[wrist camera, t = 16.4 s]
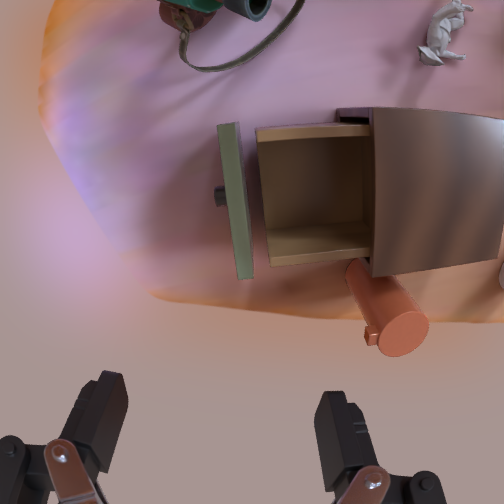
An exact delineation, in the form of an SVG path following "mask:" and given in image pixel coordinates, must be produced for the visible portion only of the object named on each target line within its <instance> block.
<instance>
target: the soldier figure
mask: <svg viewBox="0 0 504 504" xmlns="http://www.w3.org/2000/svg"><path fill="white" fill-rule="evenodd" d="M465 10H467V11H473V10H474V9H473V8H472V7H471V6H470V5H464V4H462V3H461V0H452V2H451V3H449V4H447V5H445V6H444V7H442V8H441V9H439V10H438V11H437V12H436V13H435V14H433V16H432V21H431V23H430V25H429V28H428V32H427V38H428V39H427V40H426V42H427V45H428V47H420V46H418V45H417V49H418V51H419V56H420V60H419V61H421V62H422V63H423V64H424V65H432V66H440V65H444V63H443V62H442V61H441V60H440V59H439V58H438V57H445V58H451V59H458V60H464V59H465V58H466V56H465V54H464V55H455V54H454V53H451V52H448V51H446V50H445V49H446V47H447V44H448V43H450V40H451V38H450V32H451V30H457V29H460V28H462V27H463V25H464V16H463V11H465ZM455 14H456V16H455ZM454 16H455V17H454ZM452 17H454V18H452ZM427 45H426V46H427ZM463 56H464V57H463Z"/></svg>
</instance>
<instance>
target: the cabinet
mask: <svg viewBox="0 0 504 504" xmlns="http://www.w3.org/2000/svg"><path fill="white" fill-rule="evenodd" d="M337 120H338V122H369V123H370V141H371V171H372V215H371V246H370V256H369V257H360V258H359V260H360V261H361V263H362V264H363V265H364V267H365V268H366V270H367V271H368V273H369V274H370V276H371V277H372V278H375V277H382V276H390V275H397V274H404V273H411V272H417V271H424V270H431V269H437V268H444V267H450V266H456V265H462V264H468V263H474V262H480V261H486V260H492V259H497V258H498V253H499V248H500V242H501V237H502V231H503V225H504V120H503V119H497V118H491V117H485V116H479V115H472V114H465V113H457V112H448V111H438V110H427V109H414V108H396V107H354V108H337Z"/></svg>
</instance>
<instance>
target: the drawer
mask: <svg viewBox="0 0 504 504" xmlns="http://www.w3.org/2000/svg"><path fill="white" fill-rule="evenodd" d="M217 131H218V139H219V147H220V154H221V162H222V170H223V177H224V185H225V186H217V187H215V188H214V197H215V203H216V205H217V206H226V205H227V206H228V214H229V221H230V228H231V235H232V242H233V249H234V256H235V263H236V270H237V276H238V280H243V279H253V278H254V267H253V238H252V230H251V221H250V213H249V204H248V196H247V187H246V179H245V170H244V162H243V153H242V145H241V136H240V128H239V122H232V123H225V124H220V125H217ZM255 136H256V145H257V154H258V163H259V173H260V182H261V191H262V201H263V211H264V221H265V231H266V239H267V247H268V255H269V262H270V267H277V266H287V265H296V264H306V263H315V262H324V261H333V260H342V259H351V258H360V257H369V256H370V246H371V215H372V171H371V141H370V123H369V122H337V123H311V124H295V125H281V126H269V127H258V128H255Z"/></svg>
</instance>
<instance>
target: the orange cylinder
mask: <svg viewBox="0 0 504 504" xmlns="http://www.w3.org/2000/svg"><path fill="white" fill-rule="evenodd" d="M345 280H346V283H347V285H348V287H349V289H350V291H351V293H352V295H353V297H354V299H355V301H356V303H357V305H358V307H359V309H360V311H361V313H362V315H363V317H364V319H365V321H366V323H367V325H368V326H366V327H365V334H364V338H365V340H366V343H367V345H368V346H371V345H376V344H377V345H378V347H379V350H380V351H381V352H382V353H383V354H384V355H387V356H390V357H398V356H402V355H405V354H407V353H409V352H411V351H413V350H414V349H416V348H417V347H418V346H419V345H420V344H421V343H422V342H423V340H424V339H425V337H426V335H427V333H428V329H429V321H428V318H427V317H426V315H425V314H424V313H423V311H422V310H421V309H420V307H419V306H418V305H417V303H416V302H415V301H414V299H413V298H412V297H411V295H410V294H409V293H408V291H407V290H406V289H405V288H404V286H403V285H402V284H401V282H400V281H399V280H398V279H397V277H396V276H395V275H390V276H382V277H375V278H372V277H371V276H370V274H369V273H368V271H367V270H366V268H365V267H364V265H363V264H362V263H361V261H360V260H359V258H355V259H354V260H353V261H352V262H351V263H350V264H349V266H348V268H347V270H346V274H345Z"/></svg>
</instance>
